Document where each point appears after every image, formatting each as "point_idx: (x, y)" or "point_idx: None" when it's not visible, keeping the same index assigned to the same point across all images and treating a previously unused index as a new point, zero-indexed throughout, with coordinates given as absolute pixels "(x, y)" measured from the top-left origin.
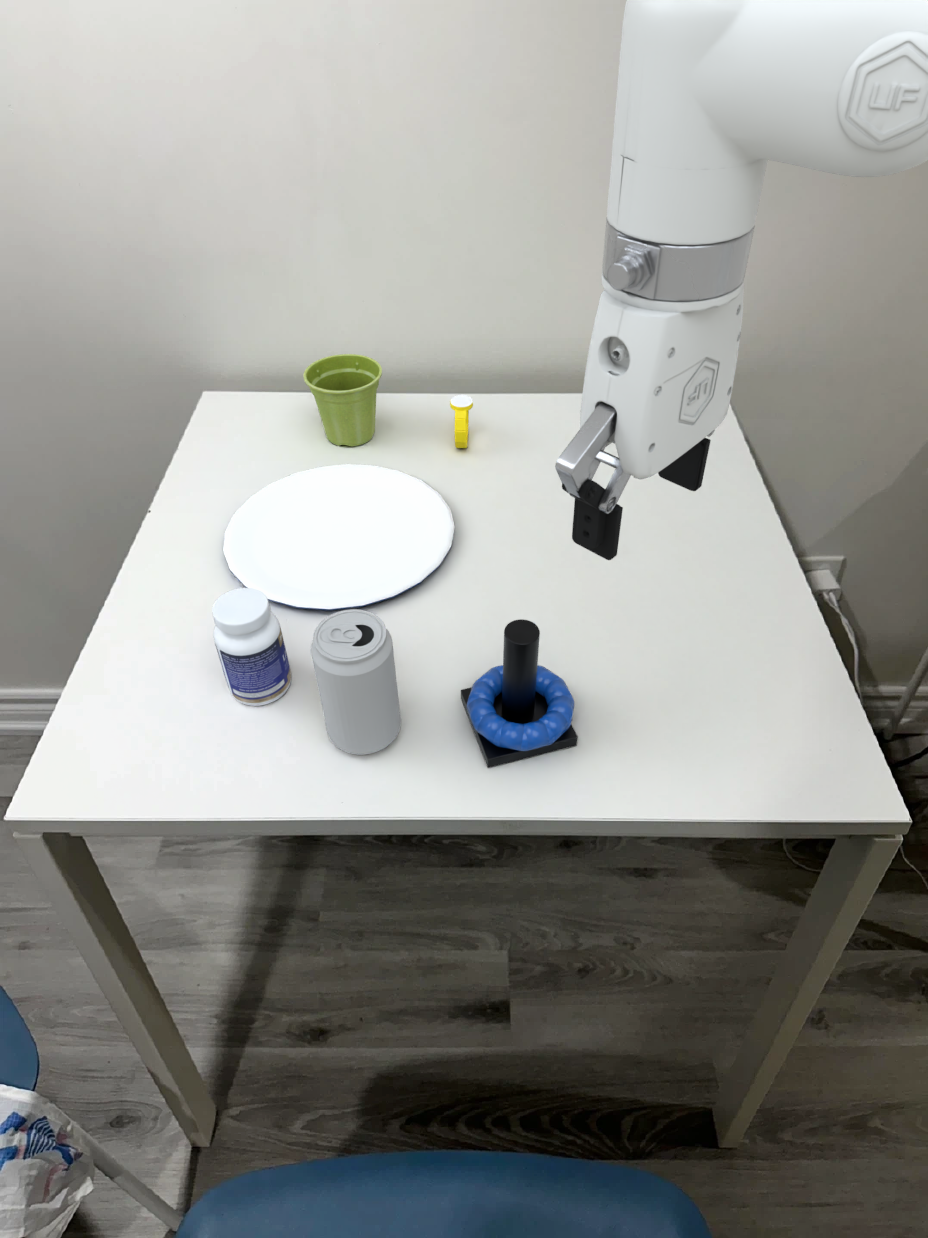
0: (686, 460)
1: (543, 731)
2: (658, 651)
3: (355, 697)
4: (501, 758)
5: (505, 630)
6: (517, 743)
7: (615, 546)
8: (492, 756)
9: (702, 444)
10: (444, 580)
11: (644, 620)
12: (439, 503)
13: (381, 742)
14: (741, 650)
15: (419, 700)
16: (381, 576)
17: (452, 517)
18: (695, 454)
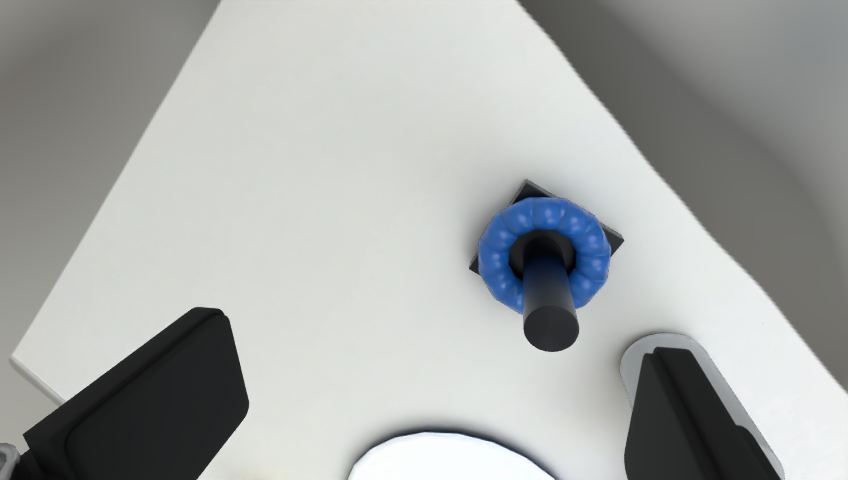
0: (167, 411)
1: (569, 214)
2: (346, 190)
3: (748, 417)
4: (609, 230)
5: (564, 347)
6: (600, 227)
7: (698, 381)
8: (616, 239)
9: (69, 440)
10: (432, 414)
11: (321, 228)
12: (357, 477)
13: (686, 341)
14: (274, 118)
15: (587, 343)
16: (475, 463)
17: (362, 457)
18: (128, 416)
